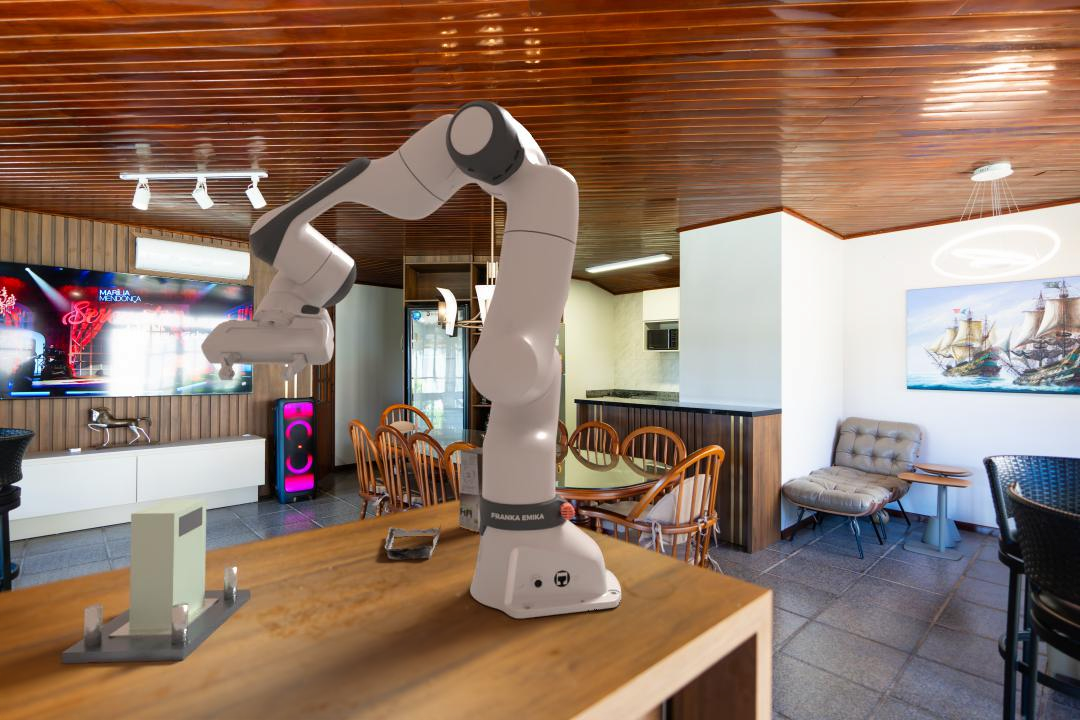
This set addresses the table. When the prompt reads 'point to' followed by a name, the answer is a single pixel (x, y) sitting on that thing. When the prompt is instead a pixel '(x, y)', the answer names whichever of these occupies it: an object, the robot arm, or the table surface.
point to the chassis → (156, 643)
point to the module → (166, 561)
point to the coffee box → (470, 487)
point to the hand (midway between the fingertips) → (255, 378)
